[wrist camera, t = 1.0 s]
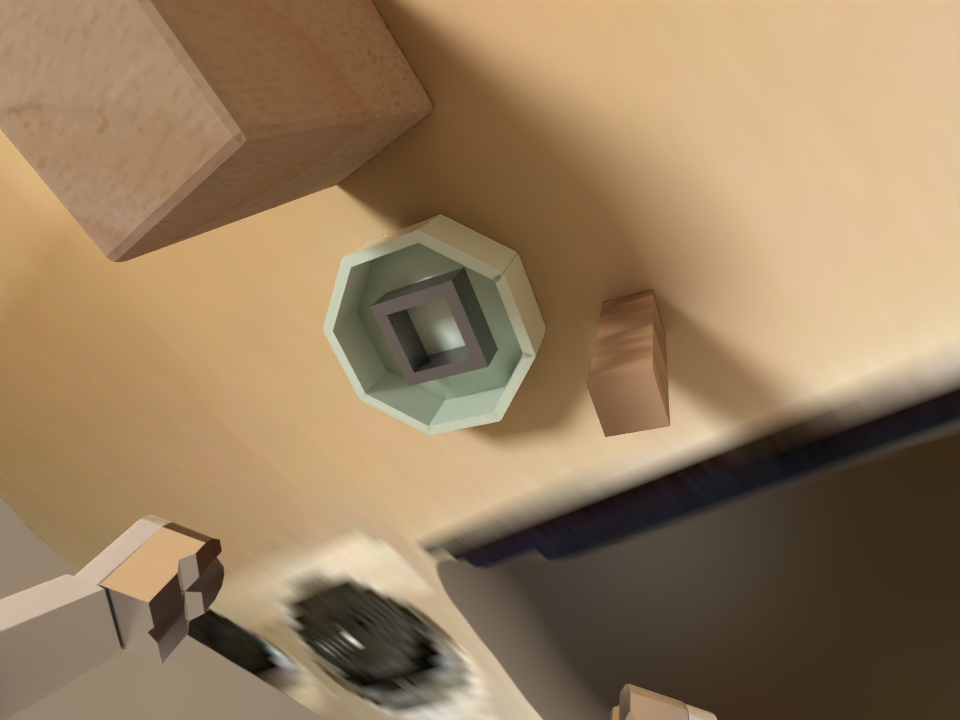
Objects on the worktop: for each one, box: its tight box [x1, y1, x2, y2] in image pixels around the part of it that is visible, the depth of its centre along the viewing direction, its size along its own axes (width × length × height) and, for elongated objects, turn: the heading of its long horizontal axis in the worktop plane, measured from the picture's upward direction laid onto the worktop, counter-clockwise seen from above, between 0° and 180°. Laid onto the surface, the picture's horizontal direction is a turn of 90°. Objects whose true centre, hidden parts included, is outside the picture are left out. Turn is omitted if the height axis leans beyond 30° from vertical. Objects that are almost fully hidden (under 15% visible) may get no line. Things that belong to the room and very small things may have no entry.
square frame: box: [370, 267, 498, 386], centre depth 42 cm, size 7×7×3 cm
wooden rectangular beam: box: [586, 289, 670, 437], centre depth 34 cm, size 4×4×12 cm
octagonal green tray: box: [323, 214, 547, 435], centre depth 42 cm, size 15×15×5 cm
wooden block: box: [0, 0, 433, 262], centre depth 29 cm, size 10×10×20 cm
